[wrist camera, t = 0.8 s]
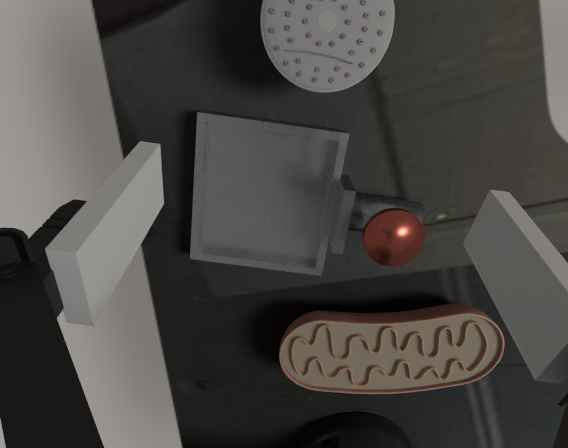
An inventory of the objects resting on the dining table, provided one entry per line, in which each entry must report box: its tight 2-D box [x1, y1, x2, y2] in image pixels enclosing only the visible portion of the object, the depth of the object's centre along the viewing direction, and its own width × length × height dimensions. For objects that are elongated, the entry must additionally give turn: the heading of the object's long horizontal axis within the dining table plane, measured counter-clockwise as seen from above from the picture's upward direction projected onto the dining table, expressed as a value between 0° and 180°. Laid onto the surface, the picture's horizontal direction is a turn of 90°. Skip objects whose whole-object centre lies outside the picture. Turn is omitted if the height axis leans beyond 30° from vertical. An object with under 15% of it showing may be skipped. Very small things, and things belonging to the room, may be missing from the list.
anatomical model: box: [279, 304, 504, 394], centre depth 42 cm, size 23×10×5 cm, turn 94°
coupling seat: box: [190, 110, 425, 276], centre depth 35 cm, size 22×14×7 cm
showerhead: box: [260, 0, 394, 93], centre depth 30 cm, size 9×7×10 cm
